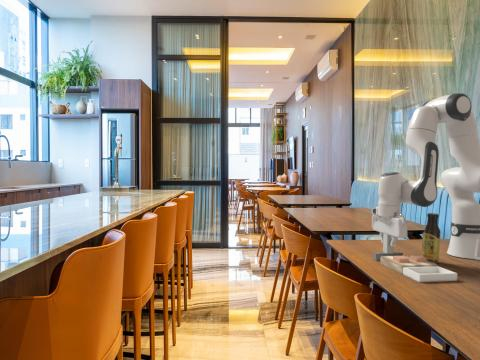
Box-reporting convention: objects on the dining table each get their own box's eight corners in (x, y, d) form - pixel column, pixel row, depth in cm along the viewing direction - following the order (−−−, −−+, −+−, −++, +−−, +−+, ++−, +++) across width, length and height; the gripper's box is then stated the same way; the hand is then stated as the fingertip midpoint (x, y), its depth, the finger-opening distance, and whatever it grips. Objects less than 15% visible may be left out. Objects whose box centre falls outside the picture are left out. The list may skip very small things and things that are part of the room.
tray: (438, 273, 130) (438, 266, 130) (457, 280, 121) (457, 273, 121) (402, 274, 127) (403, 267, 127) (419, 282, 118) (419, 274, 118)
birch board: (412, 262, 144) (412, 255, 144) (437, 272, 130) (437, 264, 130) (380, 263, 142) (380, 256, 142) (401, 274, 128) (402, 265, 128)
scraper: (399, 258, 151) (399, 232, 151) (403, 260, 148) (404, 233, 148) (372, 259, 149) (373, 233, 149) (376, 261, 146) (377, 234, 146)
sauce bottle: (418, 261, 147) (419, 212, 146) (428, 259, 149) (430, 212, 149) (432, 265, 141) (433, 214, 140) (443, 263, 143) (444, 214, 143)
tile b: (402, 259, 136) (402, 255, 136) (409, 262, 133) (409, 258, 133) (392, 259, 136) (393, 256, 136) (399, 262, 132) (399, 258, 132)
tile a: (419, 259, 138) (419, 255, 138) (426, 261, 134) (426, 257, 134) (409, 259, 137) (409, 255, 137) (416, 262, 133) (416, 258, 133)
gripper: (412, 214, 138) (411, 250, 139) (382, 208, 159) (382, 240, 159) (397, 214, 137) (396, 250, 138) (369, 209, 158) (368, 240, 158)
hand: (388, 244), depth 149 cm, fingers open, 5 cm apart
